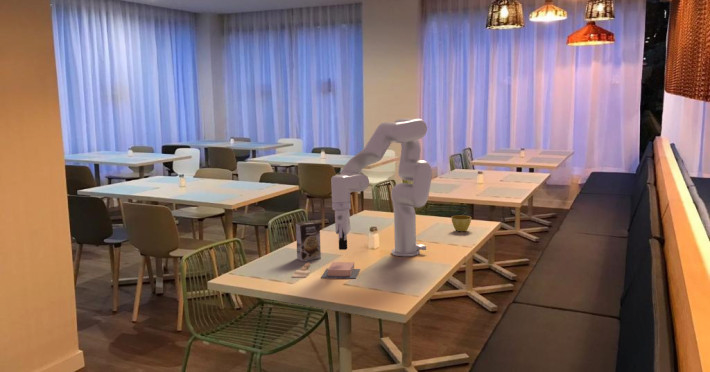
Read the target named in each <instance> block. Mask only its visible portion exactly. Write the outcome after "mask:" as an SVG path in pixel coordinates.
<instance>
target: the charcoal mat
mask: <svg viewBox="0 0 710 372" xmlns="http://www.w3.org/2000/svg"><path fill="white" fill-rule="evenodd" d="M328 269H329V268H326V269H325V270H324V271H323V273H322V274H321V277H320V279H349V280H350V279H354V280H355V279H357V277H358V275H359V273H360V271H361V268H354V270H353V272H352V274H351V276H328Z"/></svg>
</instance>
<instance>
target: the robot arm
mask: <svg viewBox="0 0 710 372" xmlns="http://www.w3.org/2000/svg"><path fill="white" fill-rule="evenodd" d="M427 132H428V125H427V123H426V122H425V120H423V119H421V118H398V119H396V120H395V121H394V122H393V121H392V122H391V121H387V122H381V123H379V125H377V128H376V129H375V131H374V133H373V134H372V136H371V137H370V139H369V141H368V142H367V144H366V145H365V147H364V148H363V149H362V150H360V151H359V152H358V153H357V154H355V155H354V156H353V157H352V158H350V159H349V160H348V161H347V162H346V163H345V166H344V167H343V169H342V170H341V171H340V174H337V175H333V176H332V177H331V181H330V183H331V206H332V209H331V210H333V211H334V222H335V223H334V226H335V227H334V228H335V229H334V230H335V234H337V235H338V250H339V251H347V250H348V239H347V238H348V236H347V235H348V234H349V233H350V231H351V217H350V210H351V209H352V207H351V206H352V203H351V202H352V201H351V193H352V192H357V193H358V192H360V193H361V192H363V191H365V190H367V189H368V187H369V185H370V179H369V178H368V176H367V175H365V174H364V173H361V172H360V171H362V170H363V169H364V168H366V167H368V166H371V165H373V164H376V163H377V162H380V161H381V160H382V158H383V157H384V156H385V154H386V152H387V150H388V149H389V147H390V146H391V144H392V143H395V144H400V145H401V148H400V149H401V150H400V156H399V157H400V158H399V162H398V163H399V164H398V169H397V170H398V172H397V173H398V177H399V178H400V179H401V180H403V181H408V182H412V183H406V182H405V183H404V182H402V183H401V182H399V183H397V184H395V185H394V186H393V188H392V189H391V201H392V206H393V218H394V219H393V221H394V222H393V223H394V226H393V227H394V231H393V232H394V248H393V249H391V252H390V253H391V255H393V256H397V257H405V258H407V257H414V256H415V257H416V256H418V255H420V254H421V253H420V252H421V251H420V250H422V251H426V250H427V245H424V244H418V241H417V232H416V231H417V228H416V227H417V226H416V225H417V224H416V222H417V220H416V218H417V216H416V215H417V214H416V211H415V208H422V207H424V206H426V204H427V202H428V199H429V195H430V189H431V183H432V177H433V172H432V171H433V170H432V169H433V168H432V166H431V165H430V163H429V162H428V161H426V160H423V159H422V160H421V151H422V150H421V143H420V141H419V140H420V139H421V140H422V139H423V138H424V137H425V136H426V134H427Z"/></svg>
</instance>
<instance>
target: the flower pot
mask: <svg viewBox="0 0 710 372" xmlns="http://www.w3.org/2000/svg"><path fill="white" fill-rule="evenodd" d="M451 222H452V226H453V228H454V230H455V231H456V230H457V231H466V230H467V231H468V229H469V228H470V225H471V223H472V217H471V216H469V215H464V214H463V215H461V214H460V215H453V216H451ZM457 231H456V232H457ZM467 231H466V232H467Z"/></svg>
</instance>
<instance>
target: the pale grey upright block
mask: <svg viewBox="0 0 710 372" xmlns="http://www.w3.org/2000/svg"><path fill="white" fill-rule="evenodd" d="M327 269H328V276H351V274H352V272H353V270H354V269H355V262H354V261H352V262H351V261H350V262H348V261H347V262H346V261H343V262H341V261H340V262H339V261H332V262H331V264H330V266H329V267H328V268H327Z"/></svg>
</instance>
